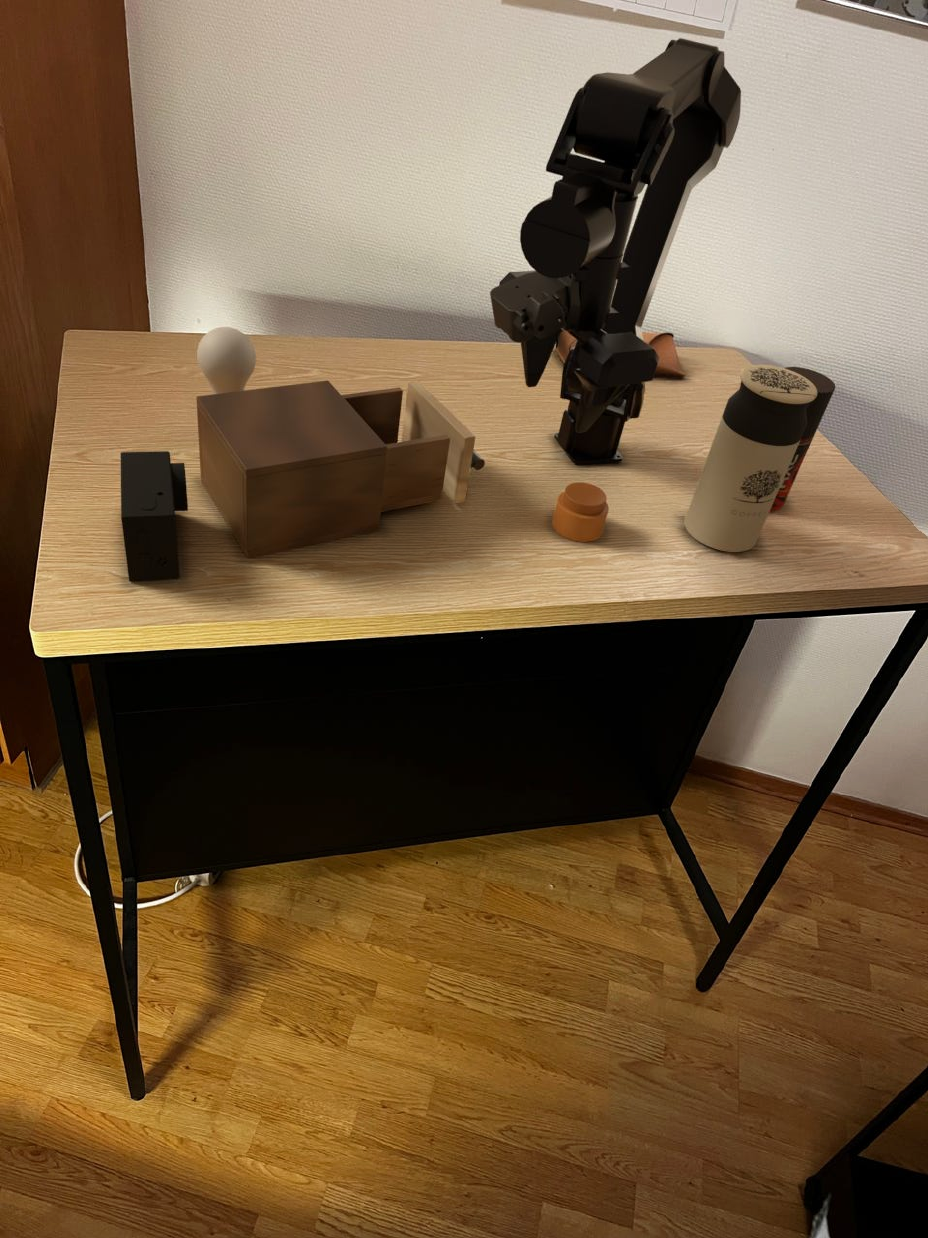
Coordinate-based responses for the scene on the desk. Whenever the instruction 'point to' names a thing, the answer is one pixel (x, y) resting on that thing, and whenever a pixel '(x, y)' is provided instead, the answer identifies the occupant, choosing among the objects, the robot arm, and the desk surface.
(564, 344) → the sunglasses case
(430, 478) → the drawer
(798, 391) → the travel mug
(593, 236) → the robot arm
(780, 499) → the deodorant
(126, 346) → the desk surface
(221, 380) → the lightbulb
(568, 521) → the stacked orange cylinders
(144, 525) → the digital camera
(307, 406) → the cabinet
